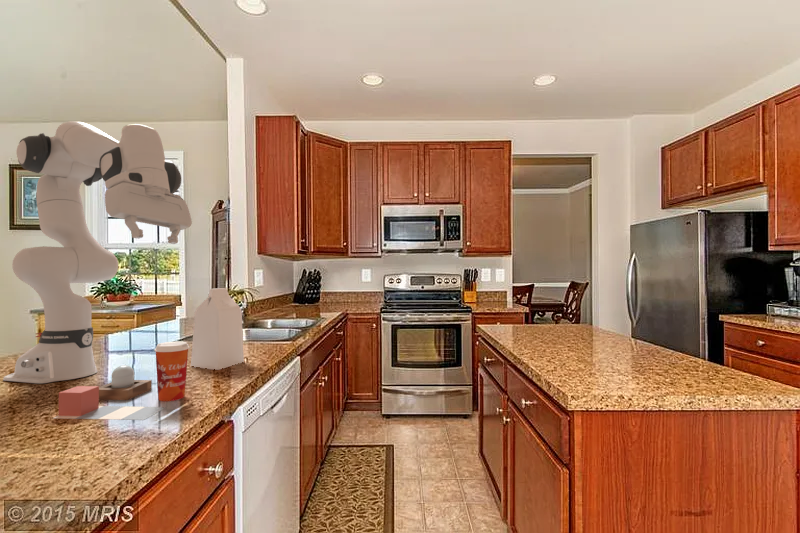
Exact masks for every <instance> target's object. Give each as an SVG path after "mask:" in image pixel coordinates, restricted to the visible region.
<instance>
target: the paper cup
mask: <svg viewBox="0 0 800 533" xmlns="http://www.w3.org/2000/svg"><path fill="white" fill-rule="evenodd" d="M189 349H191V347H190V346H189V343H188V342H186V341H180V340H179V341H165V342H160V343H158V344H157V345H156V347H155V348H154V350H153V351H154V352H155V366H156V380H157V383H156V384H157V398H158V401H160V402H174V401H178V400H181V399H184V398H185V395H186V394H185V393H186V385H187V384H186V383H187V382H186V381H187V371H188V370H187V369H188V355H189Z"/></svg>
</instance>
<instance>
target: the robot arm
mask: <svg viewBox="0 0 800 533" xmlns="http://www.w3.org/2000/svg"><path fill="white" fill-rule="evenodd" d="M56 128H57V129H55V131H56V132H55V135H54V136H49V135H45V133H44V132H43V133H39V134H38V135H29V136H26V137H23V138H22V139H20V140H19V142H18V145H17V148H16V158H17V161H18V164H19V165H20V166H21V168H23V169H24V170H26V171H28V172H32V173H35V174H43V175H40V177H39V178H38V180H37V185H36V197H35V198H36V207H37V214H38V215H37V216H38V223H39V228H40V230H41V231H42V233H43V234H44V235H45V236H46V237H47V238H49V239H52V240H54V241H56V242H58V243H59V244H60V245H61V246H45V245H44V246H34V247H27V248H26V247H25V248H22V249H20V250H19V251H18V252H17V253H16V254H15V255H14V258H13V260H12V271H13V273H14V275H15V276H16V277H17V278H18V279H19V280H20V281H22V282H23V283H25V284H27V285H29V286H30V288H33V290H34V291H35V292H36V293H37V295H38V296H39V298H40V299H41V301H42V305H43V310H44V311H43V312H44V313H43V314H44V330H43V331H42V332H38V333H35V335H36V336H35V338H39V340H38V343H37V344H35V345H34V346H33V347H31V348H30V349H29V350H26V352H24V353H23V354H21V355H20V356H19V357H18V358H17V359H16V361H15V366H14V372H13V373H12V372H11V373H10V374H7V375H5V376H3V379H2V381H7V382H17V383H28V384H29V383H30V384H38V385H39V384H40V385H41V384H48V383H53V382H59V381H68V380H75V379H79V378H84V377H85V378H86V377H88V376H92V375H94V374H97V373H98V369H97V366H96V362H95V357H94V352H93V339H94V327H92V322H93V321H92V314H93V312H92V309H93V308H92V306H93V305H92V303H91V302H90V300H89V299H87V298H86V297H83V296H81V295H79V294H77V293H74V292H73V290H72V288H71V284H91V283H92V284H95V283H99V282H105V281H106V282H107V281H109V280H112V279H113V278H115V276H116V274H117V273H118V270H119V261H118V258H117V256H116V255H115V254H114V253H113V252H112V251H110V250H108V249H106V248H105V247H103V246H102V245H101V244H100V243H99V242H98V241H97V240H96V239H95V238H94V236H93V235H92V233H91V232H90V230H89V228H88V226H87V220H86V217H85V212H84V207H83V201H82V197H81V192H80V189H81V188H80V187H81V186H82V185H81V184H82V183H83V184H84V185H85V186H87V187H90V186H92V184H93V183H96V182H99V181H100V180H103V181H104V185H105V188H106V190H105V194H104V204H105V211H106V213H107V214H108V215H109V216H110V217H111V218H115V219H121V220H124V224H125V226H126V227H127V228H128V229H129V231H130V232H131V233H130V234H131V238H132V239H137V240H139V239H142V238H143V237H144V234H143V233H144V230H143V229H140V228H139V226H138V224H137V223H141V224H146V225H147V224H148V225H151V226H158V227H164V228H168V229H169V232H171V233H170V235H169V236H167V242H168V244H170V245H171V244H172V245H175V244H178V243H179V238H178V236H179V235H180V233H181V231H183V230H186V229H188V228H190V227H191V226H192V224H193V223H192V222H193V221H192V218H191V213H190V211H189V210H190V209H189V207H188V204H187V201H185V200H184V198H182V196H181V195H179V194H174V193H176V192H177V191H178V190H179V189H180V187H181V184H182V175H181V172H180V171H179V168H178V167H177V166H176V164H175V163H174V162H173V161H171V160H166V156H165V151H164V150H165V149H164V146H163V143H162V139H161V137H160V135H159V133H158V131H157V130H156V129H155V128H153V127H150V126H147V125H144V124H140V123H129V124H126V125H124V126H123V127H122V129H121V132H120V133H121V134H120V139H119V140H117V139H115V138H114V137H112V136H110V135H108V134H107V133H105V132H103V131H102V130H101V129H99V128H97V127H95V126H93V125H91V124H88V123H86V122H82V121H75V120H70V121H69V120H68V121H65V122H63V123H61V124H60V125H59V126H58V127H56ZM136 222H137V223H136Z"/></svg>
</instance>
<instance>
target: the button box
mask: <svg viewBox="0 0 800 533" xmlns="http://www.w3.org/2000/svg"><path fill="white" fill-rule="evenodd" d="M152 386H153V384H152V379H151V380H150V379H148V380H147V379H134V385H132V386H130V387H127V388H112V381H111V382H109V383H106V384H104V385H101V386H99V401H129V400H132V399H133V398H136V397H138V396H140V395H143V394H145V393H146V392H149V391H151V390H153V388H152Z"/></svg>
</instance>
